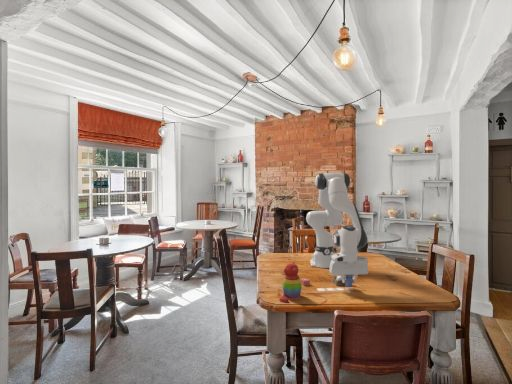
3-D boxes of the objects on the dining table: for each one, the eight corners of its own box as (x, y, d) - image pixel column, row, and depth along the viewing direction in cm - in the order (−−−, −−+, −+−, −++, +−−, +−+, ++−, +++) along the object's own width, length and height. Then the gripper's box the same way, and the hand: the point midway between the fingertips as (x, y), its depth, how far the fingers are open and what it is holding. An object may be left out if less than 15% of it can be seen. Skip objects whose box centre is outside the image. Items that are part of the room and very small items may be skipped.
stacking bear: (284, 294, 154) (284, 260, 153) (303, 296, 150) (303, 261, 150) (278, 301, 144) (278, 265, 143) (298, 304, 140) (298, 267, 140)
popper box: (331, 283, 169) (331, 276, 169) (343, 283, 170) (343, 276, 170) (336, 288, 162) (336, 280, 162) (348, 287, 163) (348, 280, 163)
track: (312, 289, 160) (312, 287, 160) (352, 288, 161) (352, 286, 161) (316, 295, 152) (316, 292, 152) (358, 293, 153) (358, 291, 153)
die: (300, 286, 166) (300, 278, 166) (306, 285, 167) (306, 278, 167) (303, 288, 162) (303, 280, 162) (310, 287, 163) (310, 280, 163)
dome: (334, 282, 168) (334, 274, 168) (342, 282, 168) (342, 274, 168) (337, 285, 164) (337, 277, 164) (345, 285, 164) (345, 276, 164)
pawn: (346, 287, 155) (346, 273, 155) (344, 284, 159) (344, 271, 159) (353, 287, 155) (353, 273, 155) (351, 284, 159) (351, 271, 159)
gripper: (365, 254, 161) (365, 280, 161) (328, 255, 159) (328, 281, 160) (370, 257, 154) (370, 284, 155) (332, 258, 153) (332, 285, 153)
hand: (348, 282), depth 157 cm, fingers closed on pawn, 3 cm apart
